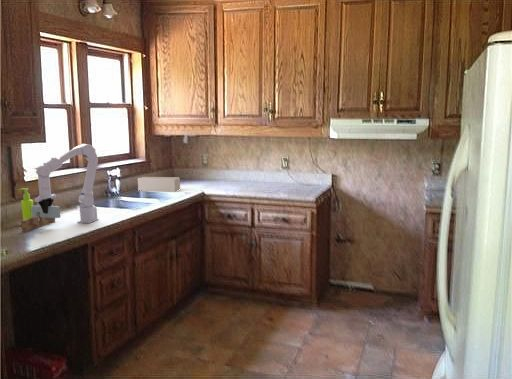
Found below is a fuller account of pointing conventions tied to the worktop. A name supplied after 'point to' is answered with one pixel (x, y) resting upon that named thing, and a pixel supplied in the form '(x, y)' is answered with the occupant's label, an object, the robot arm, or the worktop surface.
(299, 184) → the worktop surface
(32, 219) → the walnut board
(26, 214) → the soap dispenser
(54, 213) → the grey block
